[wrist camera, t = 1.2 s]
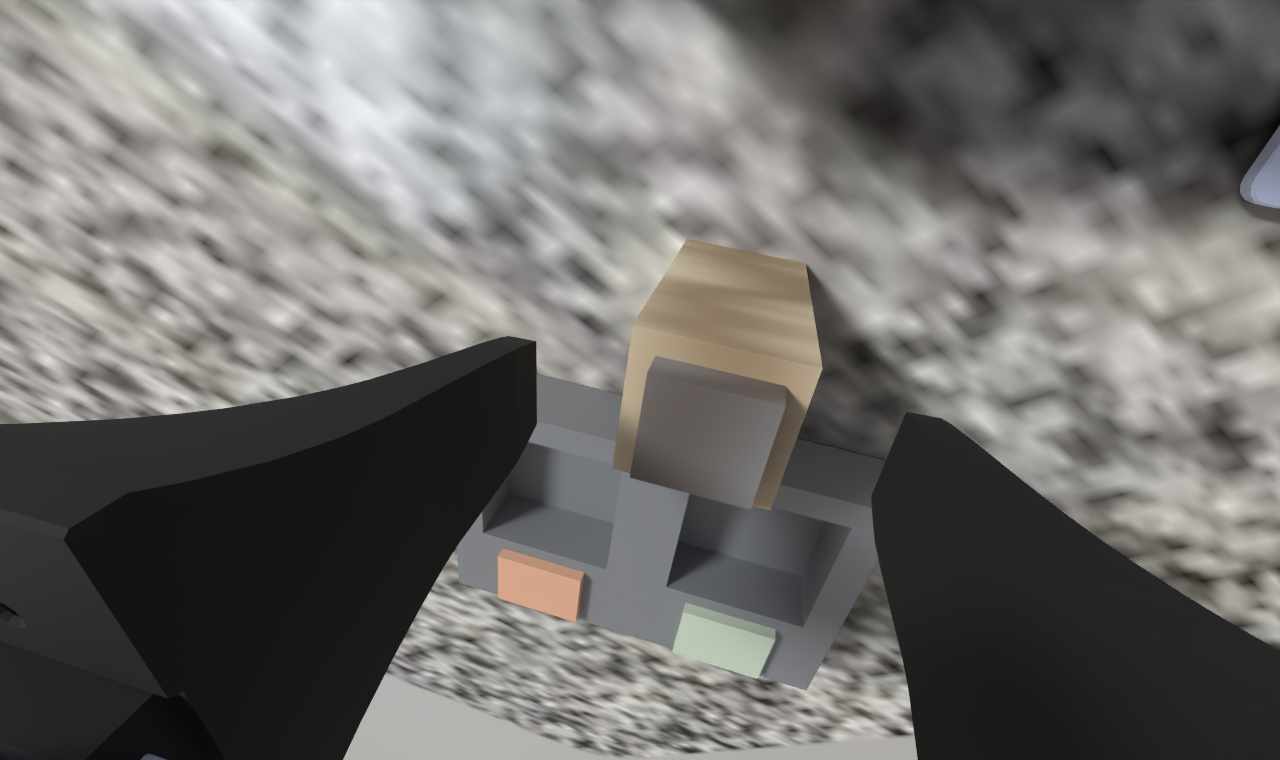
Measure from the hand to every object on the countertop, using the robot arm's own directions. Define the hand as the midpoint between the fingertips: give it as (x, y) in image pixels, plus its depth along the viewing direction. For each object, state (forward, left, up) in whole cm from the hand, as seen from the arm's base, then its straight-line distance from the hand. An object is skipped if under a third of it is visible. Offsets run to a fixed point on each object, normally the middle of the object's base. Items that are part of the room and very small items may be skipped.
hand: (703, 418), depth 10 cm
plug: (0, 0, -6) cm, 6 cm away
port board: (+1, +8, -6) cm, 11 cm away
